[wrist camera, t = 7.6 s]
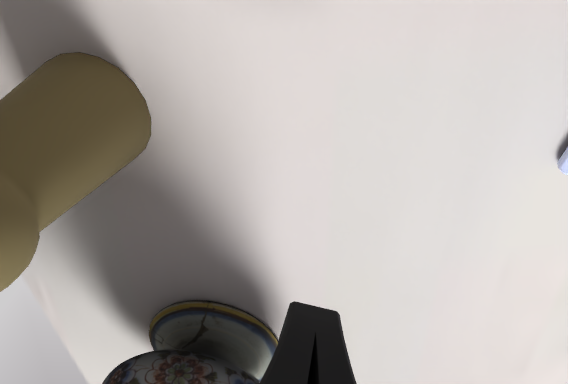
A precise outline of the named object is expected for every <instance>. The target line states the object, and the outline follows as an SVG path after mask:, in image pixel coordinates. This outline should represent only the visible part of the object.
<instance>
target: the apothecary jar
mask: <svg viewBox="0 0 568 384" xmlns="http://www.w3.org/2000/svg"><path fill="white" fill-rule="evenodd" d="M149 338H150V342H151V345H152V347H153V350H154V351H152V352H147V353H144V354H141V355H138V356H135V357H133V358H130V359H128V360H126V361H124V362H123V363H121V364H120V365H118V366H117V367H116V368H115V369H114V370H113V371H112V372H111V373H110V374H109V375H108V376H107V377H106V379H105V380H104V381H103V383H102V384H259V383H260V381H261V379H262V377H263V375H264V373H265V371H266V369H267V367H268V365H269V363H270V361H271V359H272V357H273V354H274V352H275V350H276V348H277V345H278V341H277V339H276V338H275V336H274V335H273V333H272V332H271V331H270V330H269V329H268V328H267V327H266V326H265V325H264V324H263V323H261V322H260V321H259V320H257V319H256V318H254V317H253V316H251V315H249V314H248V313H245V312H243V311H241V310H239V309H236V308H233V307H231V306H227V305H224V304H220V303H215V302H208V301H188V302H181V303H177V304H173V305H171V306H168V307H166V308H164V309H163V310H161V311H160V312H159V313H158V314H156V316H155V317H154V318H153V320H152V322H151V324H150V330H149Z"/></svg>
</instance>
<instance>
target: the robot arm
mask: <svg viewBox="0 0 568 384" xmlns="http://www.w3.org/2000/svg"><path fill="white" fill-rule="evenodd" d="M557 164H558V168H559V169H560V170H561V172H562V173H563V174H566V175H568V147H567V149H566V150H565V152H564V153H563V155H562V156H561V158H560V159H559V161H558V163H557ZM259 384H356V381H355V377H354V374H353V371H352V367H351V364H350V360H349V356H348V352H347V348H346V344H345V340H344V336H343V331H342V326H341V320H340V315H339V313H338V312H337V311H333V310H329V309H325V308H320V307H316V306H312V305H308V304H303V303H299V302H292V303H290V305H289V308H288V312H287V315H286V318H285V321H284V324H283V328H282V331H281V334H280V337H279V341H278V345H277V348H276V350H275V352H274V354H273V357H272V359H271V361H270V363H269V365H268V367H267V369H266V371H265V373H264V375H263V377H262V379H261V381H260V383H259Z"/></svg>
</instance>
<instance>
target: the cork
mask: <svg viewBox="0 0 568 384" xmlns="http://www.w3.org/2000/svg"><path fill="white" fill-rule="evenodd" d="M150 136H151V117H150V114H149V110H148V107H147V104H146V101H145V99H144V98H143V96H142V95H141V93H140V91H139V90H138V88H137V87H136V85H135V84H134V83H133V82H132V81H131V80H130V79H129V78H128V77H127V76H126V75H125V74H124V73H123V72H122V71H121V70H120V69H119V68H117V67H115V66H114V65H112V64H110V63H108V62H107V61H105V60H103V59H101V58H99V57H96V56H92V55H88V54H84V53H80V52H78V53H66V54H60V55H58V56H56V57H54V58H52V59H51V60H49V61H47V62H46V63H44V64H43V65H42V66H41V67H40V68H38V69H37V70H36V71H35V72H34V73H32V74H31V75H30V76H29V77H28V78H26V79H25V80H24V81H23V82H22V83H20V84H19V85H18V86H17V87H16V88H14V89H13V90H12V91H11V92H10V93H8V94H7V95H6V96H5V97H4V98H2V99H1V100H0V292H1V291H2V290H4V289H5V288H7V287H8V286H9V285H10V284H11V283H12V282H13V281H15V280H16V279H17V278H18V277H19V276H20V275H21V273H22V272H23V271H24V270H25V269H26V268H27V267H28V265H29V264H30V262H31V260H32V258H33V256H34V254H35V252H36V249H37V245H38V241H39V237H40V236H39V232H40V231H41V230H43V229H44V228H45V227H47V226H48V225H49V224H51V223H52V222H53V221H54V220H56V219H57V218H58V217H60V216H61V215H62V214H64V213H65V212H66V211H67V210H69V209H70V208H71V207H73V206H74V205H75V204H77V203H78V202H79V201H80V200H82V199H83V198H84V197H86V196H87V195H88V194H90V193H91V192H92V191H93V190H95V189H96V188H97V187H99V186H100V185H101V184H103V183H104V182H105V181H106V180H108V179H109V178H110V177H112V176H113V175H114V174H116V173H117V172H118V171H119V170H121V169H122V168H123V167H125V166H126V165H127V164H129V163H130V162H131V161H132V160H134V159H135V158H136V157H137V156H138V155H139V154H140V153H141V152H142V151H143V150H144V149H145V148H146V146H147V143H148V141H149V139H150Z"/></svg>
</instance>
